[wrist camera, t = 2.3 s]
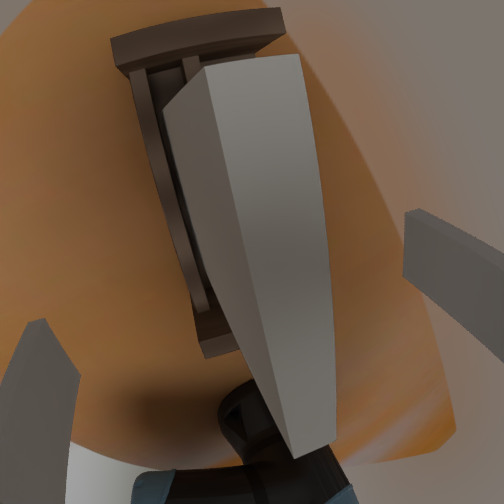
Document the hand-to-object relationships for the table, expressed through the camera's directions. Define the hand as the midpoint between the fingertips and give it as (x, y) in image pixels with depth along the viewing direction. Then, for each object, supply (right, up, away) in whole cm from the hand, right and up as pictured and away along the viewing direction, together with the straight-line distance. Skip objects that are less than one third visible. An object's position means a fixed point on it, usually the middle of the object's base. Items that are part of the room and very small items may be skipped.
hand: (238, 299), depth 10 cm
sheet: (-5, +7, +17) cm, 20 cm away
